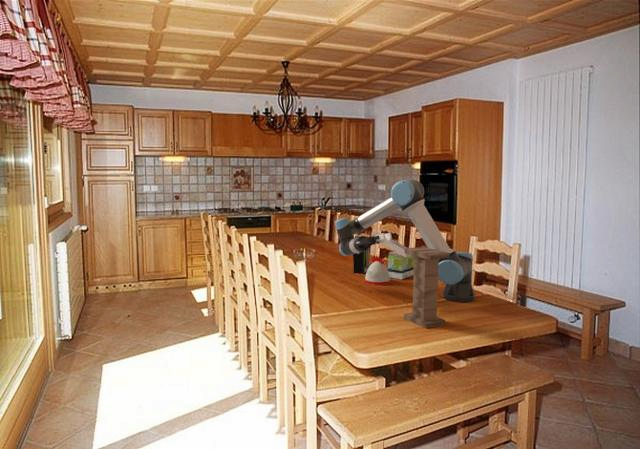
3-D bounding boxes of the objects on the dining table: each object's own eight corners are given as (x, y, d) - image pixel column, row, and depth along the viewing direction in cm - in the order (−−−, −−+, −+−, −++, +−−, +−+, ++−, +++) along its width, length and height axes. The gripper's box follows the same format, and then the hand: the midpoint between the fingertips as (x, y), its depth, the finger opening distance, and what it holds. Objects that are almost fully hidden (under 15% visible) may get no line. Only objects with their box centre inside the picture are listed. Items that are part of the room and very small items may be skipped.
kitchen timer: (374, 278, 280) (374, 252, 278) (394, 281, 271) (395, 255, 269) (360, 282, 269) (360, 255, 267) (381, 286, 260) (382, 259, 258)
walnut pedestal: (446, 325, 197) (449, 252, 194) (427, 329, 193) (430, 254, 189) (420, 314, 211) (423, 246, 208) (402, 317, 207) (404, 248, 203)
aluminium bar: (410, 256, 211) (411, 250, 210) (405, 257, 210) (406, 250, 209) (377, 238, 232) (378, 232, 231) (372, 238, 230) (373, 232, 230)
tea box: (402, 279, 275) (403, 254, 274) (387, 277, 281) (387, 252, 280) (414, 275, 287) (415, 250, 285) (399, 272, 293) (400, 248, 292)
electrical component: (367, 274, 289) (367, 241, 287) (350, 273, 291) (350, 240, 289) (370, 268, 306) (370, 236, 304) (354, 267, 308) (354, 236, 306)
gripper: (374, 250, 246) (402, 242, 226) (347, 253, 238) (374, 244, 218) (371, 236, 247) (399, 226, 227) (345, 238, 240) (371, 228, 219)
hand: (387, 235), depth 223 cm, fingers closed on aluminium bar, 3 cm apart
